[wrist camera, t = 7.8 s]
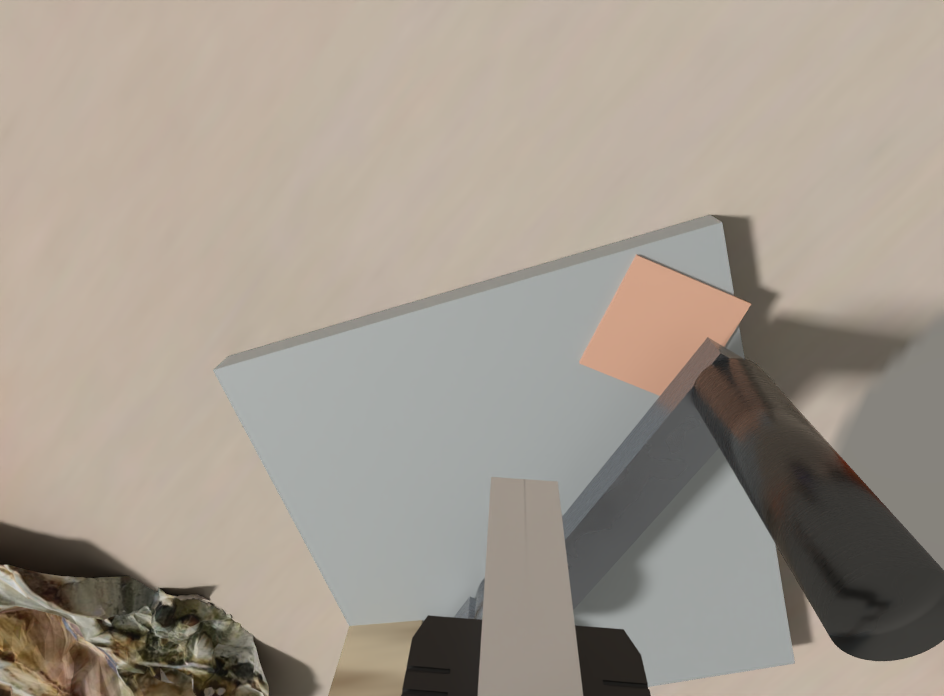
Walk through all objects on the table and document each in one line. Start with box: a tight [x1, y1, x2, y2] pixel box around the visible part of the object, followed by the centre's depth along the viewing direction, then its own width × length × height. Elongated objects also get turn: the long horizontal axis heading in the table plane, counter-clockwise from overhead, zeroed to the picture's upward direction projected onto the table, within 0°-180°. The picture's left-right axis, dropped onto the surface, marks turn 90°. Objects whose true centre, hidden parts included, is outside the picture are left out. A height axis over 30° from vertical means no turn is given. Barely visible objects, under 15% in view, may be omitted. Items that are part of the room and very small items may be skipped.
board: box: [213, 215, 795, 687], centre depth 29 cm, size 24×22×2 cm
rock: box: [0, 565, 269, 696], centre depth 33 cm, size 23×7×15 cm
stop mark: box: [579, 254, 751, 396], centre depth 24 cm, size 5×5×1 cm
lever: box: [454, 337, 944, 661], centre depth 22 cm, size 22×4×13 cm, turn 150°
